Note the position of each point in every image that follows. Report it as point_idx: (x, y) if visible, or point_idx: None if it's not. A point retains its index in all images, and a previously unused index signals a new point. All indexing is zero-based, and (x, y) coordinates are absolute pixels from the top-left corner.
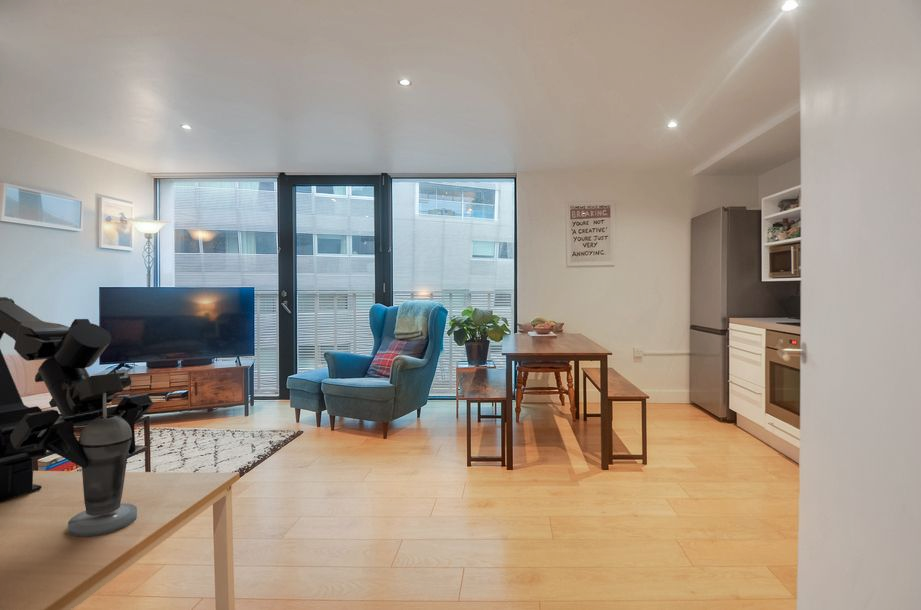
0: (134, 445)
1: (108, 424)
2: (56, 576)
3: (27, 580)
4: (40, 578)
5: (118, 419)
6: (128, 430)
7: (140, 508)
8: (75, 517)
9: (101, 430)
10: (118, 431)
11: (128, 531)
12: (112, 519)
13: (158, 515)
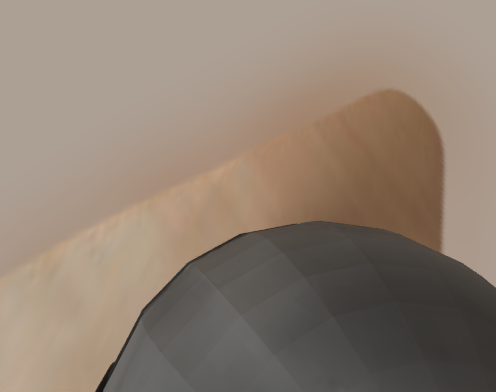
0: (101, 390)
1: (439, 282)
2: (379, 151)
3: (417, 178)
4: (400, 167)
5: (296, 372)
6: (176, 287)
7: None
8: None
9: (472, 274)
10: (301, 228)
11: (222, 230)
12: None
13: (128, 263)
